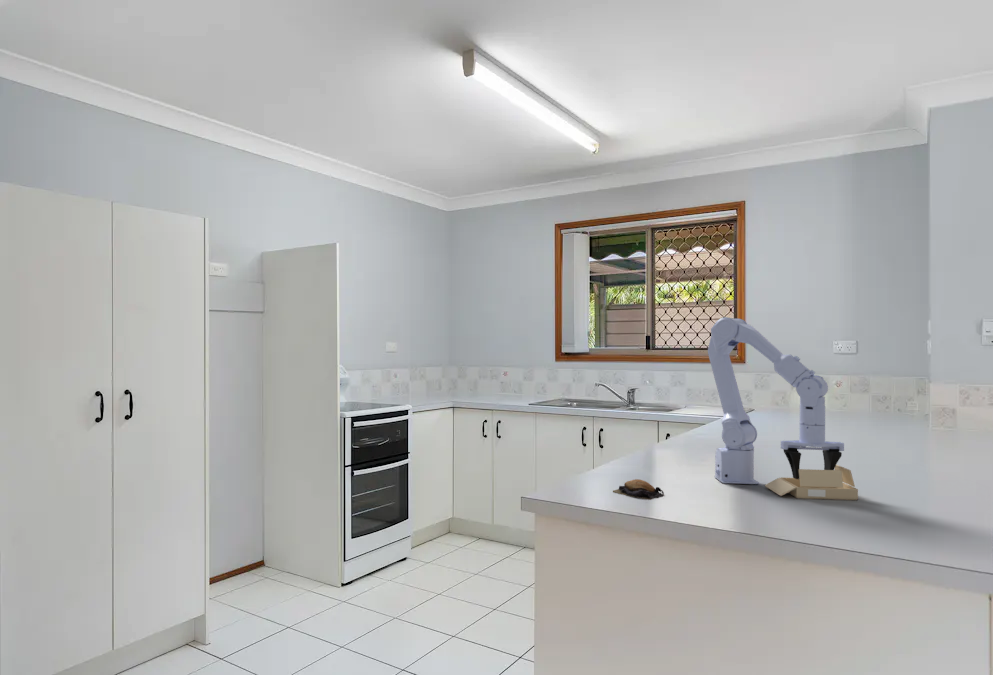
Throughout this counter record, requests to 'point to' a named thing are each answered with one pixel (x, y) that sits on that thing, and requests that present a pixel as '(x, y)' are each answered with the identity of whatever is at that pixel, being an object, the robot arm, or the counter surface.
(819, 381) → the robot arm
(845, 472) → the right flap
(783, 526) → the counter surface
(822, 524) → the counter surface
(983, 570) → the counter surface
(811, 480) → the front flap
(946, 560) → the counter surface
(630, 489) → the brown black domed lump
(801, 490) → the carton
